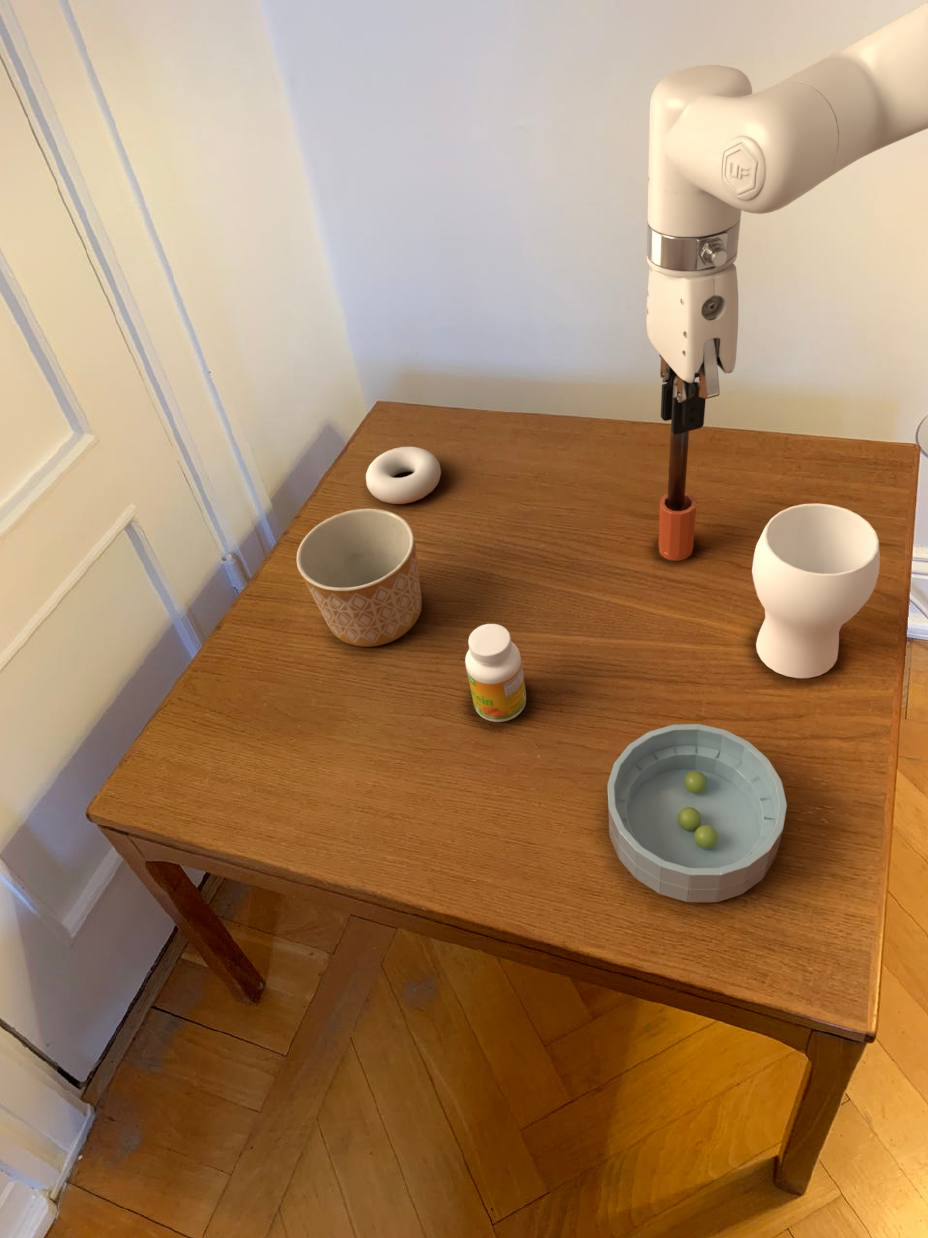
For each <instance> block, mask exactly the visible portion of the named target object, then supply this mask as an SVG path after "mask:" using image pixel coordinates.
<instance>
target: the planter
mask: <svg viewBox="0 0 928 1238" xmlns="http://www.w3.org/2000/svg"><path fill="white" fill-rule="evenodd" d="M418 565H419V564H418V557H417V549H416V541H415V533H414V531H413V529H412V527H411V525H410V524H409V523H408V521H407V520H405V518H403V517H401V516H400V515H399V514H396V513H395V512H392V511H389V510H384V509H380V508H357V509H352V510H347V511H343V512H340V513H338V514H335V515H333V516H330V517H329V518H327V519H325V520H323V521H322V522H320V523H319V524H317V525H316V526H314V527H313V528H312V529H311V530H310V531H309V532H308V533H307V534H306V535H305V537H303V540H302V541H301V542H300V545H299V546H298V549H297V551H296V566H297V569H298V571H299V574H300V576H301V577H302V579H303V581H304V583H305V585H306V587H307V589H308V591H309V592H310V595H311V596H312V598H313V600H314V602H315V604H316V606H317V607H318V610H319V612H320V613H321V615H322V617H323V619H324V622H325V623H326V625H327V626H328V629H329V630H330V632H331V633H332V634H333V635H334V636H335V637H336V638H337V639H338V640H340V641H341V642H343V643H346V644H349V645H352V646H356V647H362V648H370V647H371V648H372V647H378V646H379V647H380V646H383V645H386V644H389V643H392V642H394V641H396V640H398V639H399V638H401V637H402V636H404V635H405V634H407V633H408V632H409V631H410V630H411V629H412V628H413V627H414V625H415V624H416V622H417V621H418V619H419V616H420V614H421V612H422V606H423V599H422V597H423V596H422V591H421V590H422V589H421V582H420V573H419V566H418Z"/></svg>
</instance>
